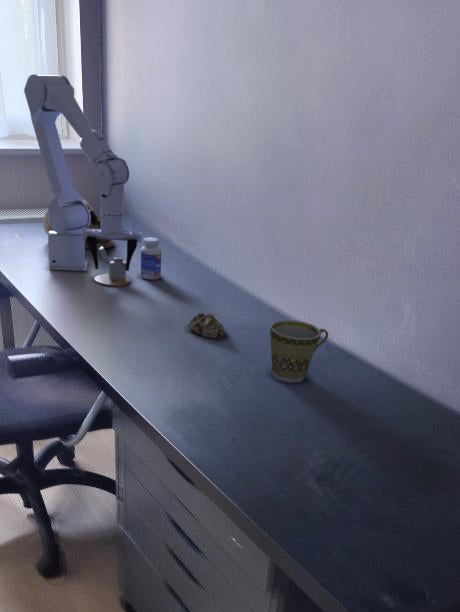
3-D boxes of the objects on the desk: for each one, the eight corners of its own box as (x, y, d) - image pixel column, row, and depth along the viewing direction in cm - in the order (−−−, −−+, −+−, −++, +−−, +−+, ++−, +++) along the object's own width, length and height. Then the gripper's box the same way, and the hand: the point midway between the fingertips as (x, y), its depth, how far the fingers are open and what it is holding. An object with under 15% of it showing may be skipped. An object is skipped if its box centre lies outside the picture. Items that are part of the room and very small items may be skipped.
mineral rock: (179, 315, 161) (209, 303, 163) (182, 332, 164) (212, 320, 166) (202, 334, 154) (233, 320, 156) (205, 351, 157) (236, 338, 159)
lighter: (124, 277, 186) (124, 246, 182) (125, 279, 185) (126, 248, 180) (97, 278, 183) (97, 246, 179) (99, 280, 182) (99, 248, 178)
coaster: (93, 285, 180) (93, 283, 180) (95, 274, 187) (95, 272, 187) (129, 287, 181) (129, 285, 181) (129, 276, 189) (129, 274, 188)
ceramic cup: (280, 389, 139) (287, 340, 134) (255, 369, 146) (261, 322, 141) (334, 381, 145) (343, 334, 139) (308, 362, 152) (315, 316, 146)
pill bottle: (159, 280, 188) (160, 242, 182) (139, 278, 188) (139, 240, 182) (161, 274, 192) (162, 237, 187) (141, 272, 192) (142, 235, 187)
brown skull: (119, 245, 211) (114, 197, 202) (70, 259, 201) (62, 210, 193) (88, 234, 220) (82, 188, 211) (40, 247, 210) (31, 199, 202)
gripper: (81, 214, 171) (82, 271, 178) (141, 219, 173) (140, 275, 181) (82, 208, 176) (84, 263, 184) (141, 212, 178) (140, 267, 186)
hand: (112, 268), depth 183 cm, fingers open, 7 cm apart
